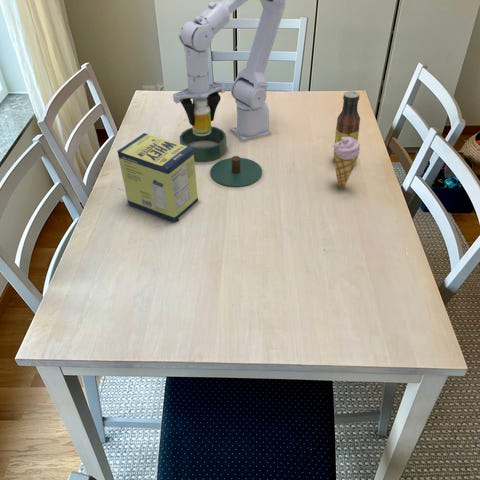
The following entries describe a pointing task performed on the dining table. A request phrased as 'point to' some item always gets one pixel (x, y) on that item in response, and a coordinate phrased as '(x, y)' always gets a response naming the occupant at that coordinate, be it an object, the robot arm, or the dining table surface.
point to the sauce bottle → (348, 118)
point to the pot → (207, 152)
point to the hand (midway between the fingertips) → (201, 121)
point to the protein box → (159, 176)
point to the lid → (236, 172)
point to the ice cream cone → (345, 158)
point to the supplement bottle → (201, 117)
